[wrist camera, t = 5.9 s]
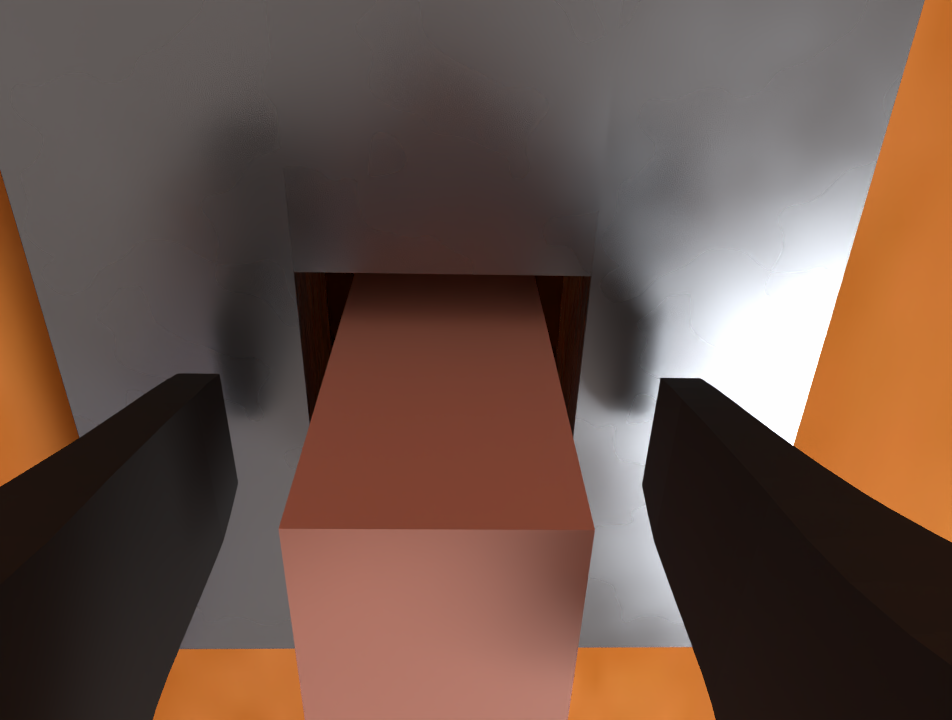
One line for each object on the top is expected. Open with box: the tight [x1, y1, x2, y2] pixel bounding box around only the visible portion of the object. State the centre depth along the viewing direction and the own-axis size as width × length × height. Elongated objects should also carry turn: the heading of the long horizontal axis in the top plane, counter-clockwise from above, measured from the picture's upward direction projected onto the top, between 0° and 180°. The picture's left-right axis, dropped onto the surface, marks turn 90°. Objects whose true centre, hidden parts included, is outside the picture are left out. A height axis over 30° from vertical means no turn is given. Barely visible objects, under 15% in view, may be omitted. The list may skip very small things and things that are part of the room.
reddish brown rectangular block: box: [279, 273, 595, 720], centre depth 11 cm, size 3×3×7 cm
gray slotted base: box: [0, 0, 925, 649], centre depth 13 cm, size 12×12×2 cm
